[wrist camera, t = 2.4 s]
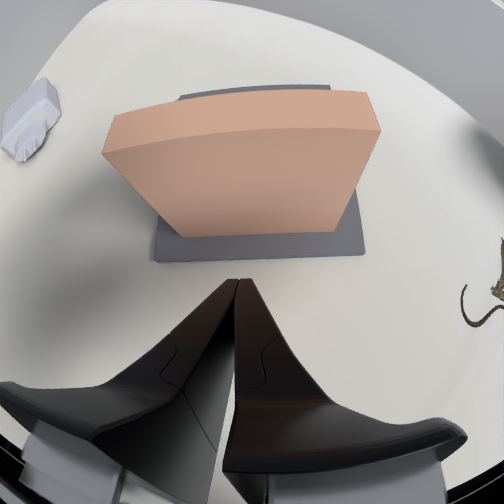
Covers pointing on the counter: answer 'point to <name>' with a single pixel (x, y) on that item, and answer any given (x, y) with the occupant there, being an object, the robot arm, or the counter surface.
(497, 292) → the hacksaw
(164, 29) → the counter surface
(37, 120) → the charger
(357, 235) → the mat
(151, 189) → the tile
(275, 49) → the counter surface
